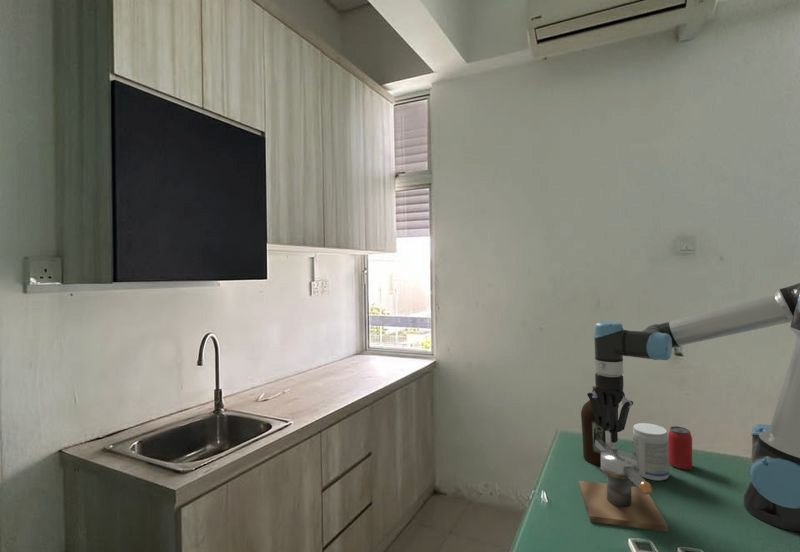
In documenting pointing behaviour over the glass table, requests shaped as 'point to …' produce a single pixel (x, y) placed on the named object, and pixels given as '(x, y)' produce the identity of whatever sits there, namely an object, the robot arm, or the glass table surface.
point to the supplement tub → (651, 451)
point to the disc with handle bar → (621, 466)
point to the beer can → (680, 447)
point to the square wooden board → (620, 504)
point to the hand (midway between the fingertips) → (610, 451)
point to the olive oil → (591, 434)
